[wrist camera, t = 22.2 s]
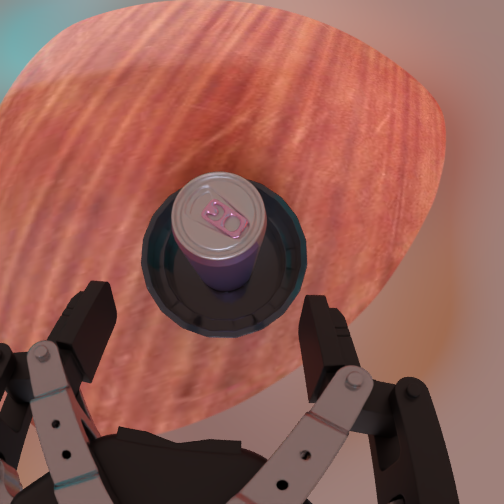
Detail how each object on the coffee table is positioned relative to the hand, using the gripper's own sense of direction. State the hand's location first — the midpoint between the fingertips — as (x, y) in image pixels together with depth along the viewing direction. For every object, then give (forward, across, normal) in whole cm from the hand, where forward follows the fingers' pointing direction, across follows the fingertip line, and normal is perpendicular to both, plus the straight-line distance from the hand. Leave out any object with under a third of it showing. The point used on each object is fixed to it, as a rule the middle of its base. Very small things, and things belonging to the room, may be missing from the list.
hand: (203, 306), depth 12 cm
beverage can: (+18, 0, +10) cm, 21 cm away
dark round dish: (+18, 0, +10) cm, 21 cm away
